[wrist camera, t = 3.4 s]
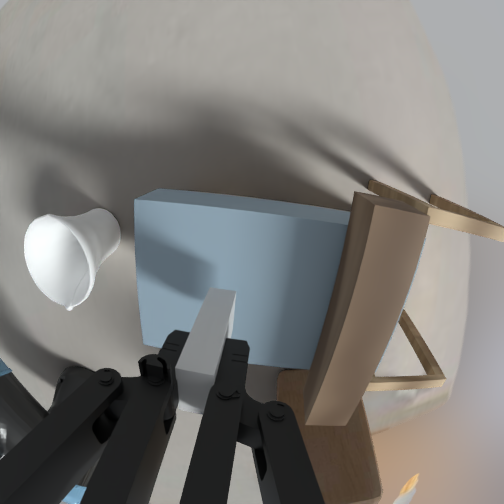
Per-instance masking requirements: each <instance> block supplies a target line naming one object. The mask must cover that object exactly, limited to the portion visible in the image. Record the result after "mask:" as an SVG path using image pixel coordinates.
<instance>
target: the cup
mask: <svg viewBox="0 0 504 504" xmlns="http://www.w3.org/2000/svg"><path fill="white" fill-rule="evenodd" d="M120 239H121V234H120V227H119V224H118V221H117V220H116V219H115V217H114V216H113V215H112V214H111V213H110V212H108V211H107V210H105V209H101V208H97V209H92V210H90V211H89V212H87V213H84V214H81V215H77V216H65V217H62V216H57V215H53V214H46V215H43V216H41V217H38V218H35V219H34V220H33V221H32V222H31V223H30V225H29V227H28V229H27V231H26V234H25V239H24V255H25V259H26V264H27V267H28V270H29V272H30V274H31V276H32V278H33V280H34V282H35V283H36V285H37V286H38V287H39V289H40V290H41V291H42V292H43V293H44V294H45V295H46V296H47V297H49V298H50V299H51V300H52V301H54V302H56V303H58V304H61V305H63V306H65V307H66V309H67V310H68V311H70V310H72V308H73V307H74V306H76V305H79V304H80V303H82V302H83V301H84V300H85V299H86V298H88V296H89V294H90V292H91V290H92V288H93V286H94V281H95V275H96V273H97V271H98V269H99V268H100V264H101V263H102V262H103V261H104V260H105V259H106V258H107V257H108V256H109V255H110V254H112V253H113V252H114V251H115V250H116V248H117V247H118V245H119V243H120Z"/></svg>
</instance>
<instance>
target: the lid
mask: <svg viewBox="0 0 504 504" xmlns="http://www.w3.org/2000/svg"><path fill="white" fill-rule="evenodd" d="M350 213H351V212H348V211H342V210H336V209H330V208H323V207H317V206H310V205H303V204H296V203H289V202H282V201H275V200H267V199H259V198H251V197H242V196H234V195H225V194H215V193H205V192H195V191H184V190H172V189H160V188H158V189H156V190H154V191H152V192H149V193H147V194H145V195H143V196H140V197H138V198H136V199H134V232H135V258H136V275H137V289H138V300H139V311H140V320H141V328H142V336H143V344H145V345H149V346H153V347H158V348H162V346H163V344H164V342H165V340H166V338H167V336H168V335H169V334H170V333H171V332H173V331H174V330H180V331H186V332H191V329H192V327H193V325H194V322H195V320H196V318H197V315H198V313H199V311H200V309H201V306H202V304H203V302H204V299H205V297H206V295H207V293H208V290H209V288H210V287H212V288H218V289H225V290H232V291H236V300H235V311H234V321H233V331H232V335H231V339H238V340H245V341H247V343H248V345H249V347H250V352H249V359H248V363H249V364H256V365H265V366H274V367H283V368H294V369H307V370H310V367H311V364H312V361H313V358H314V355H315V351H316V348H317V345H318V342H319V338H320V335H321V332H322V328H323V325H324V321H325V318H326V314H327V310H328V307H329V303H330V299H331V296H332V292H333V288H334V284H335V280H336V276H337V272H338V268H339V264H340V259H341V255H342V251H343V246H344V242H345V237H346V232H347V227H348V223H349V218H350ZM425 240H426V238H425ZM425 240H424V244H425ZM424 244H423V247H422V251H423V248H424ZM422 251H421V254H422ZM421 254H420V258H421ZM420 258H419V261H420ZM419 261H418V264H419ZM418 264H417V268H418ZM417 268H416V271H417ZM416 271H415V274H416ZM415 274H414V277H415ZM414 277H413V280H414ZM413 280H412V283H413ZM412 283H411V286H412ZM411 286H410V289H411ZM410 289H409V292H410ZM409 292H408V294H409ZM408 294H407V297H408ZM407 297H406V300H407ZM406 300H405V303H406ZM405 303H404V305H405ZM404 305H403V308H404ZM403 308H402V311H403ZM402 311H401V313H402ZM401 313H400V316H401ZM400 316H399V318H400ZM399 318H398V321H399ZM398 321H397V323H398ZM397 323H396V326H397ZM396 326H395V328H396ZM395 328H394V331H395ZM394 331H393V333H394ZM393 333H392V335H393ZM392 335H391V338H392ZM391 338H390V340H391ZM390 340H389V342H390ZM389 342H388V345H389ZM388 345H387V347H388ZM387 347H386V349H387ZM386 349H385V351H386ZM385 351H384V353H385ZM383 356H384V354H383ZM383 356H382V358H383ZM382 358H381V360H382ZM381 360H380V362H381ZM380 362H379V364H380ZM379 364H378V366H379ZM378 366H377V368H378ZM376 370H377V369H376ZM375 372H376V371H375Z"/></svg>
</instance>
